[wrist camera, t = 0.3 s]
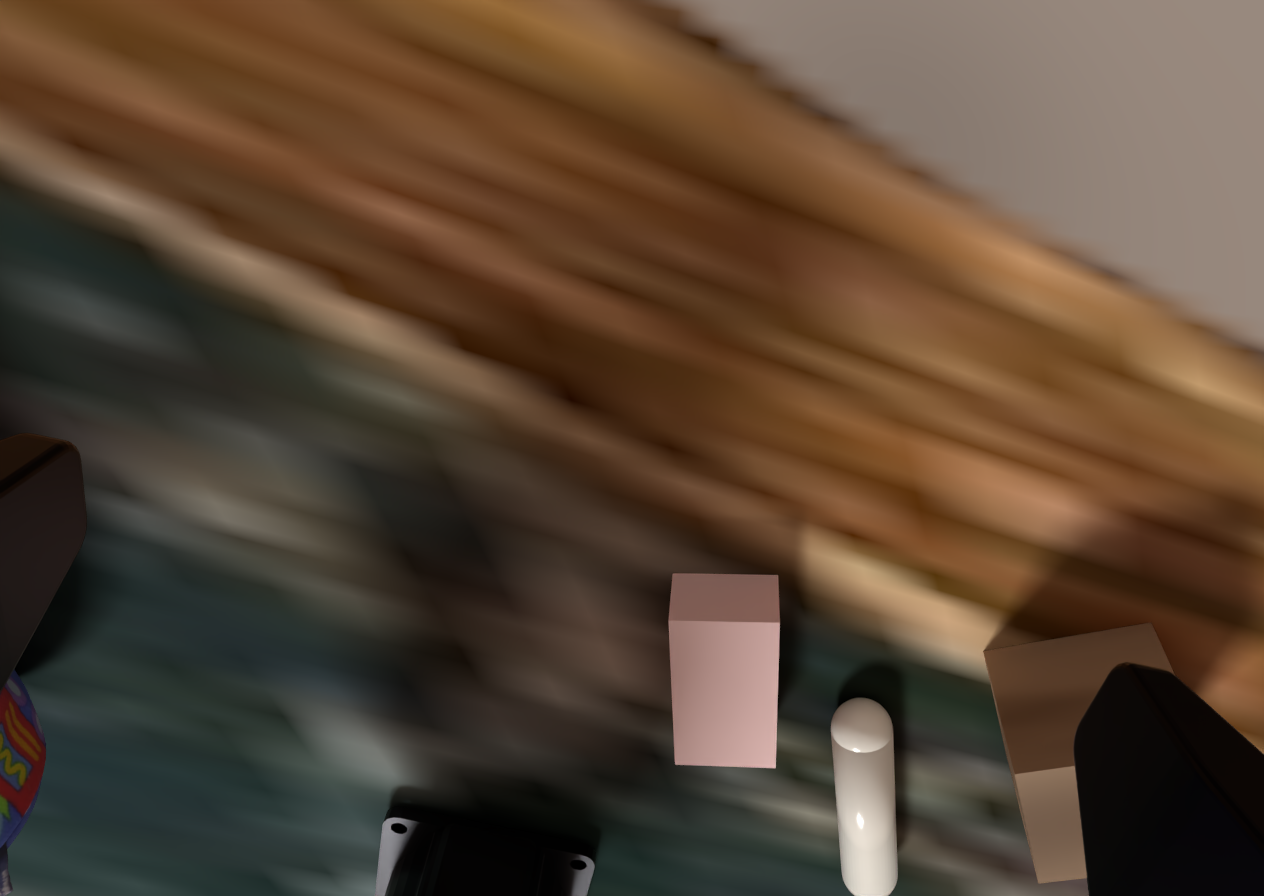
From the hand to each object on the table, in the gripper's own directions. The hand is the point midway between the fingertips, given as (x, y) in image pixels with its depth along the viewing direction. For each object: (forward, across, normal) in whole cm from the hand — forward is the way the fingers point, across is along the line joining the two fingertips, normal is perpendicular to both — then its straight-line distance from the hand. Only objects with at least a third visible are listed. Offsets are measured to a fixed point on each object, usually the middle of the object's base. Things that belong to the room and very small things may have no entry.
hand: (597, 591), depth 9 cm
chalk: (+14, -9, +17) cm, 24 cm away
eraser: (+14, -4, +13) cm, 20 cm away
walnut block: (+14, -13, +12) cm, 23 cm away
